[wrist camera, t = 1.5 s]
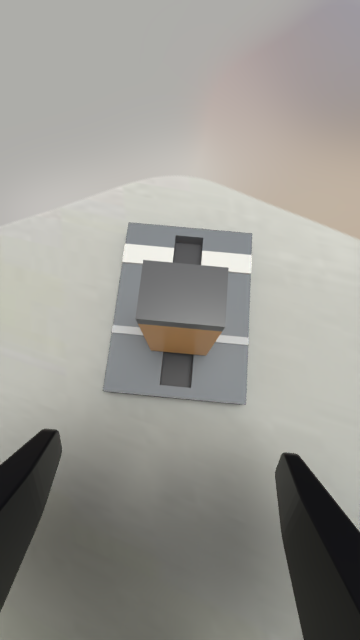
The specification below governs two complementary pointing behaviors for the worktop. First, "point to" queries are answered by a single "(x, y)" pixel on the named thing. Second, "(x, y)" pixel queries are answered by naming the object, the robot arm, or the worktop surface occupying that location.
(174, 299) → the fader tab
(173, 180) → the worktop surface
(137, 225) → the fader console
